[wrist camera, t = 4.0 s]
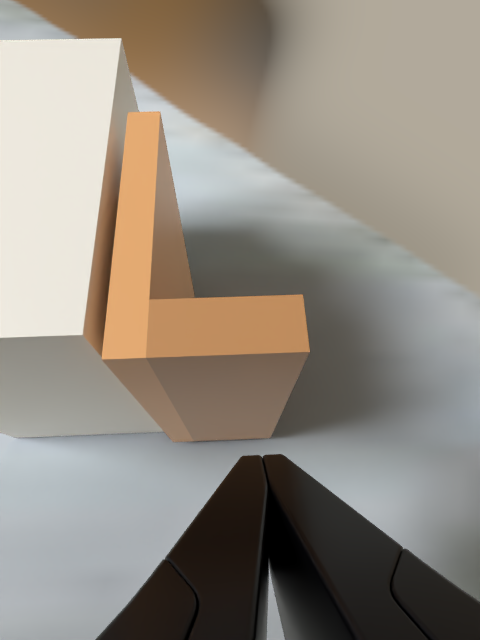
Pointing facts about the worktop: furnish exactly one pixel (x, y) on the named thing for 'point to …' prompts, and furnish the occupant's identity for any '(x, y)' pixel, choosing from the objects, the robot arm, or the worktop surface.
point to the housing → (61, 236)
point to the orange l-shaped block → (190, 317)
